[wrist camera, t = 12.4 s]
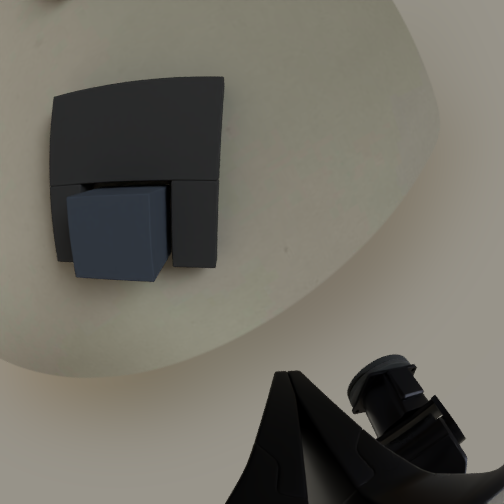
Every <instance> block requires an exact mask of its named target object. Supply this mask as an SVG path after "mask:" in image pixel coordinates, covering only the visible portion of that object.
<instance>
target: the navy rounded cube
mask: <svg viewBox="0 0 504 504" xmlns="http://www.w3.org/2000/svg"><path fill="white" fill-rule="evenodd" d="M66 201H67V214H68V225H69V234H70V242H71V249H72V256H73V263H74V268H75V274H76V277H80V278H94V279H110V280H128V281H148V282H154V281H155V279H156V278H157V276H158V274H159V272H160V271H161V269H162V267H163V266H164V264H165V262H166V260H167V259H168V257H169V255H170V254H171V223H170V185H129V186H107V187H100V188H96V189H93V190H89V191H86V192H82V193H79V194H75V195H72V196H69V197H67V198H66Z"/></svg>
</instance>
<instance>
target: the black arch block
mask: <svg viewBox="0 0 504 504" xmlns="http://www.w3.org/2000/svg"><path fill="white" fill-rule="evenodd" d="M223 98H224V77H174V78H159V79H148V80H139V81H131V82H123V83H117V84H110V85H104V86H99V87H94V88H89V89H84V90H80V91H75V92H71V93H67V94H63V95H59V96H56V97H54V100H53V109H52V119H51V133H50V186H51V187H50V197H51V211H52V222H53V231H54V239H55V246H56V253H57V259H58V261H60V262H73V256H72V249H71V242H70V234H69V225H68V214H67V201H66V198H67V197H69V196H72V195H75V194H79V193H82V192H86V191H89V190H93V183H104V182H125V181H164V180H173V181H171V229H172V259H173V267H198V268H215V267H216V261H217V228H218V194H219V168H220V147H221V129H222V113H223Z"/></svg>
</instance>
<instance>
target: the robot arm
mask: <svg viewBox="0 0 504 504" xmlns="http://www.w3.org/2000/svg"><path fill="white" fill-rule="evenodd" d="M416 368H417V367H416V366H415V365H414V364H412V365H407V366H403V367H398V368H393V369H388V370H382V371H377V372H371V373H369V374H368V375H367V377H366V379H365V382H364V384H363V386H362V389H361V391H360V393H359V396H358V398H357V400H356V402H355V405H354V407H353V409H352V412H353V414H358V413H362V412H366V414H367V417H368V418H369V421H370V423H371V425H372V427H373V429H374V431H375V433H376V435H377V439H375V438H373V437H372V436H371V435H370V434H368V433H367V432H366V431H365V430H362V428H361V427H360V426H359V425H358V424H357V423H356V422H355V421H353V420H352V419H351V418H350V417H349V416H348V415H347V414H346V413H345V412H343V411H342V410H341V409H340V408H339V407H338V406H337V405H336V404H334V403H333V402H332V401H331V400H330V399H329V398H328V397H327V396H326V395H325V394H324V393H323V392H322V391H320V390H319V389H318V388H317V387H316V386H315V385H314V384H313V383H312V382H311V381H310V380H309V379H308V378H307V377H306V376H305V375H304V374H302V373H301V372H300V371H288V372H286V371H278V372H275V374H274V377H273V381H272V384H271V388H270V392H269V395H268V399H267V403H266V406H265V409H264V413H263V416H262V420H261V423H260V426H259V429H258V433H257V436H256V439H255V443H254V445H253V448H252V451H251V454H250V457H249V460H248V462H247V465H246V467H245V469H244V471H243V473H242V475H241V477H240V479H239V481H238V482H237V484H236V486H235V488H234V490H233V491H232V493H231V494H230V496H229V498H228V500H227V501H226V503H225V504H504V465H503V466H501V467H500V468H499V469H497V470H494V471H491V472H486V473H471V474H466V467H467V456H466V454H465V453H464V451H463V450H462V448H461V447H460V445H459V444H460V443H462V442H463V441H464V440H465V437H464V435H463V433H462V432H461V430H460V429H459V427H458V426H457V424H456V423H455V421H454V420H453V418H452V417H451V416H450V414H449V413H448V412H447V410H446V409H445V407H444V406H443V405H442V403H441V402H440V401H439V399H438V398H437V397H436V395H434V396H433V397H432V398H431V400H429V401H428V400H427V398H426V397H425V396H424V394H423V392H424V391H423V389H422V387H421V386H420V385H419V384H418V382H417V381H416V379H415V378H414V376H413V374H414V372H415V370H416ZM441 415H443V416H442V417H440V418H438V417H439V416H441ZM437 418H438V419H437Z"/></svg>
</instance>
